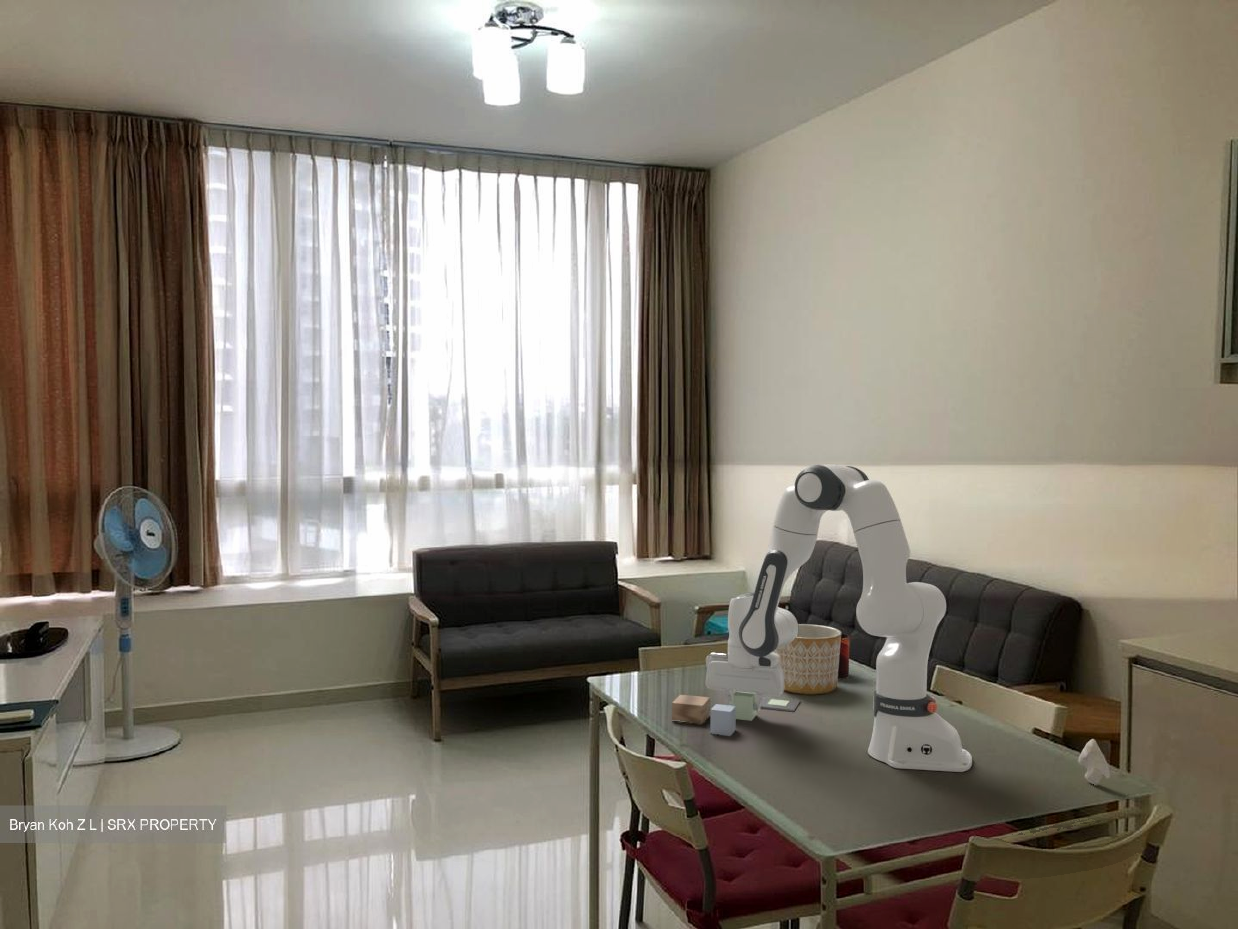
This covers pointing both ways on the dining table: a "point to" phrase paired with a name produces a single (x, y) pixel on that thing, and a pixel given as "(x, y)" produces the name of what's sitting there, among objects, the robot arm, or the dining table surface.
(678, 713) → the walnut base
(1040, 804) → the dining table surface
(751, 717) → the sage block
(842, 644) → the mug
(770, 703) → the card
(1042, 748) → the dining table surface
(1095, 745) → the arrowhead
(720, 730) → the slate block
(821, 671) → the planter
